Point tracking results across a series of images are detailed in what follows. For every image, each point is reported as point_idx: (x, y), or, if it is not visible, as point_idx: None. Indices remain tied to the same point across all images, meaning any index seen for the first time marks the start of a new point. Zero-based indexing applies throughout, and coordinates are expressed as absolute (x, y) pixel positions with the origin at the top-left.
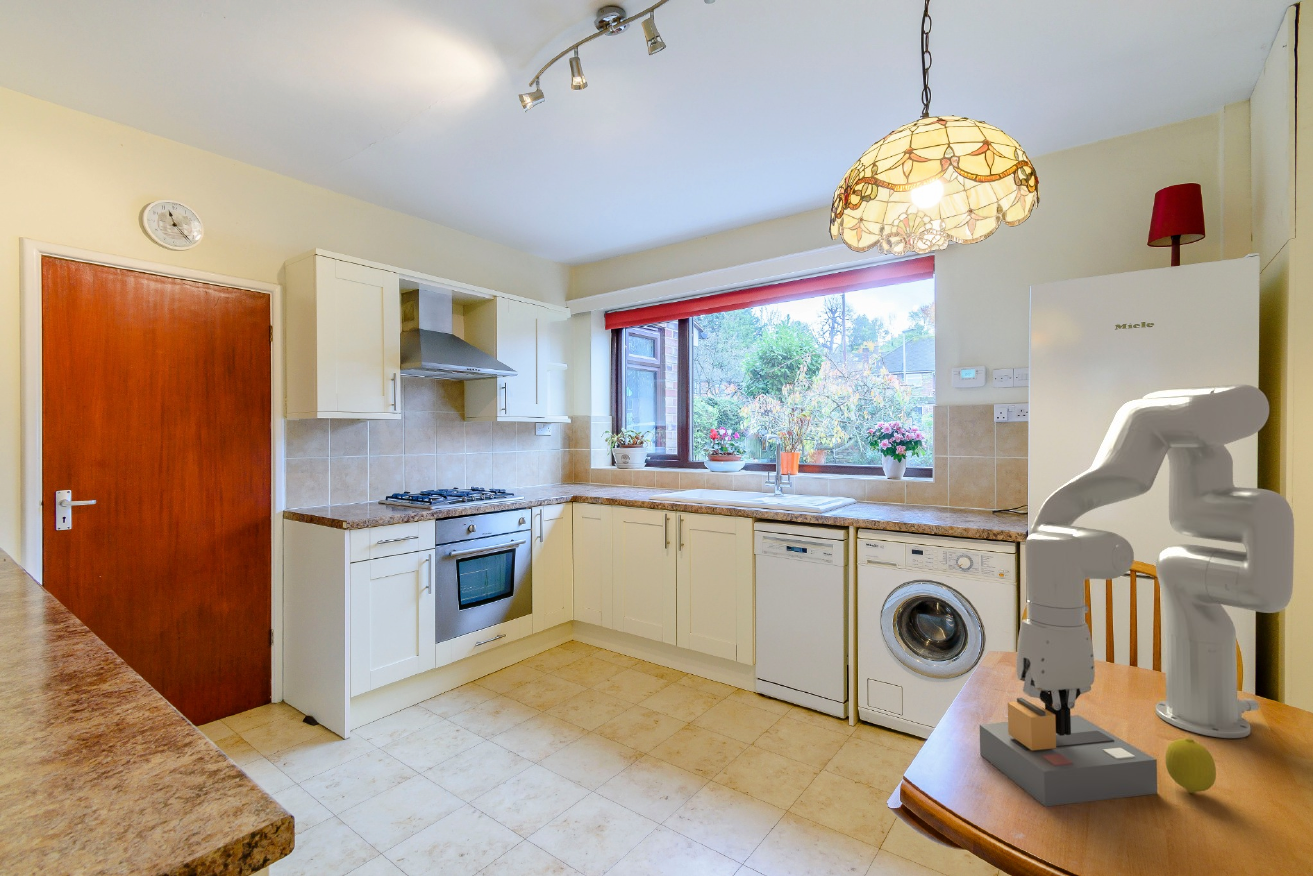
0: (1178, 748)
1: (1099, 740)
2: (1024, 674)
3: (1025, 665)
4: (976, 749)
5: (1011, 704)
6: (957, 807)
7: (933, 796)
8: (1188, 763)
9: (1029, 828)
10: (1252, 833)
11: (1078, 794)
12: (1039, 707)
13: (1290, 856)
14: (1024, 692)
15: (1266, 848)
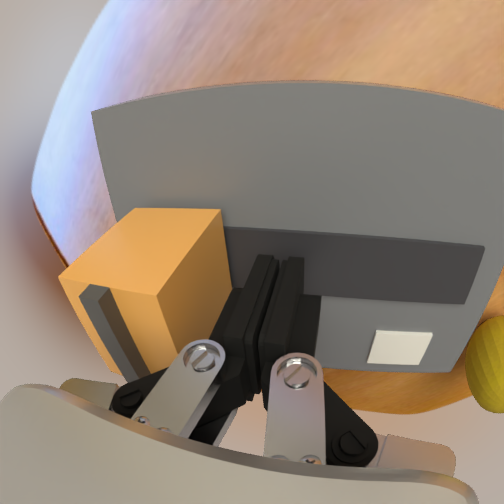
0: (487, 398)
1: (423, 297)
2: (36, 408)
3: (11, 476)
4: (154, 67)
5: (68, 294)
6: (71, 256)
7: (49, 227)
8: (472, 393)
9: None
10: (439, 387)
11: None
12: (164, 353)
13: (423, 409)
14: (68, 387)
15: (417, 401)
